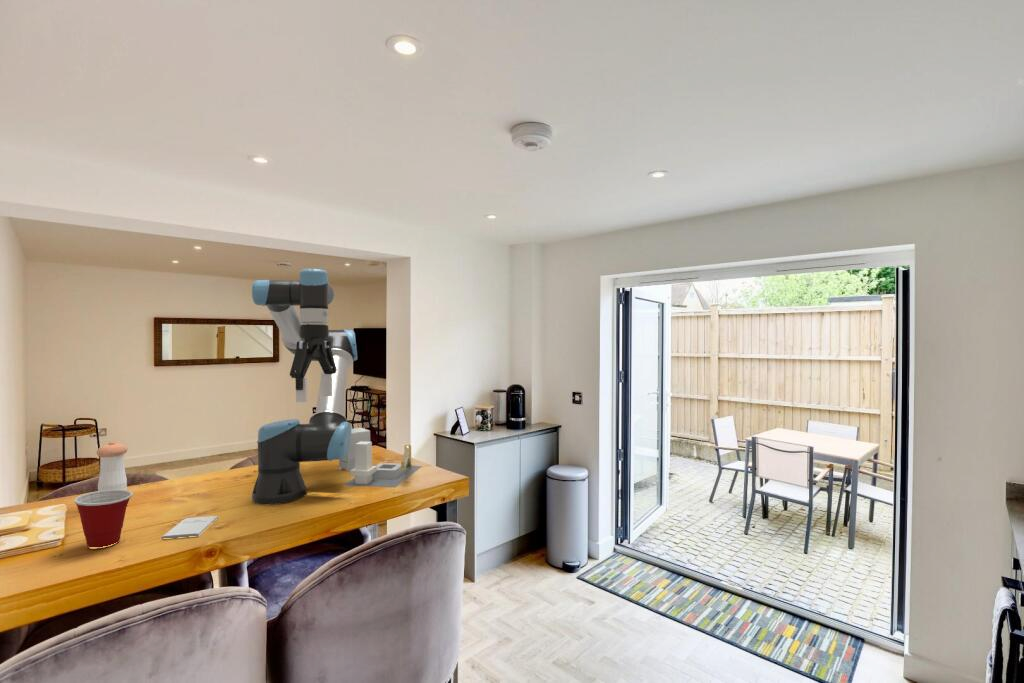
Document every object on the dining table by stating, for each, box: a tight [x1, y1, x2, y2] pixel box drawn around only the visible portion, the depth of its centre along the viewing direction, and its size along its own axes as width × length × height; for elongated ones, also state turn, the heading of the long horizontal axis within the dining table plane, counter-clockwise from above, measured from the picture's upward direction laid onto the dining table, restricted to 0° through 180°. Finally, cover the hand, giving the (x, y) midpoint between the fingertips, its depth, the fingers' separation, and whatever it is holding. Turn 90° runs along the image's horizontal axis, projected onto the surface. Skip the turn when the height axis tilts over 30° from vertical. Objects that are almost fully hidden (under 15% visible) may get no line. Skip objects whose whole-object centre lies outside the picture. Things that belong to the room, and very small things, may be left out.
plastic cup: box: [73, 489, 133, 547], centre depth 117 cm, size 11×11×12 cm
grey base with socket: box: [343, 462, 422, 488], centre depth 170 cm, size 18×26×4 cm
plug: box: [349, 441, 377, 484], centre depth 162 cm, size 6×6×13 cm
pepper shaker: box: [96, 440, 128, 491], centre depth 144 cm, size 7×7×19 cm
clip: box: [400, 444, 412, 470], centre depth 170 cm, size 2×25×7 cm, turn 8°
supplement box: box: [338, 427, 371, 472], centre depth 182 cm, size 9×9×15 cm
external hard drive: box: [161, 515, 218, 540], centre depth 127 cm, size 2×8×12 cm
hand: (315, 399), depth 139 cm, fingers open, 13 cm apart
